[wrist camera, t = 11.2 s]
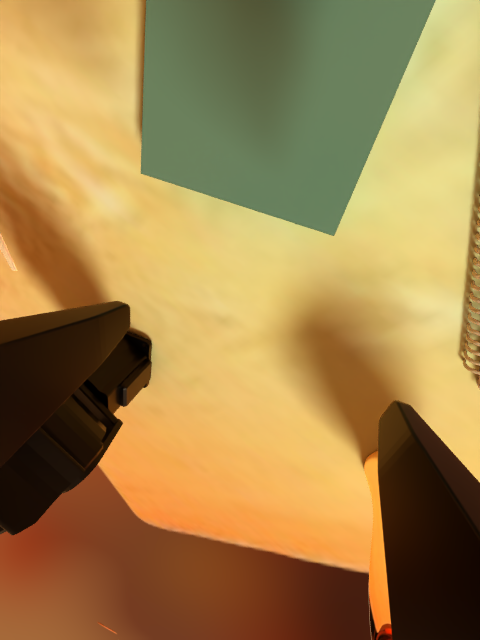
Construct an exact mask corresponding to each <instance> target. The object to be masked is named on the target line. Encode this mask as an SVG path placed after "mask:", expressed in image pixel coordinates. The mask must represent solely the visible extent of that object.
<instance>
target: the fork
mask: <svg viewBox="0 0 480 640" xmlns="http://www.w3.org/2000/svg"><path fill="white" fill-rule="evenodd" d="M0 249H1V251H2V253H3V255H4V257H5V258H6V260H7V262H8V264H9V266H10V268H11V269H12V271H17V269H16V266H15V264H14V262H13V260H12V258H11V255H10V253H9V251H8V249H7V247H6V244H5V242H4V240H3V238H2V236H1V233H0Z"/></svg>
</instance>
